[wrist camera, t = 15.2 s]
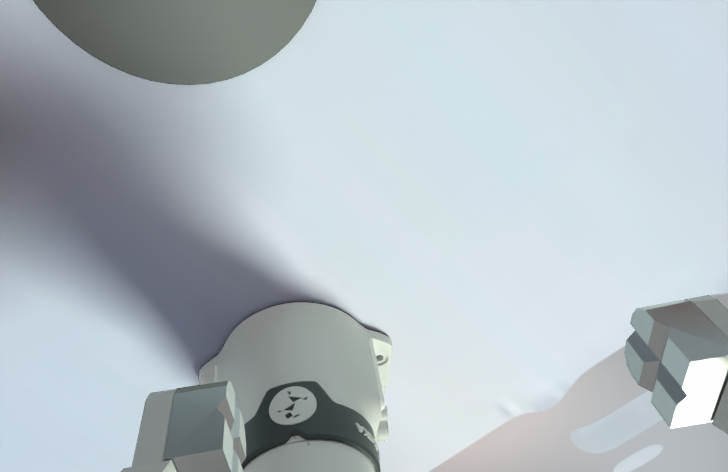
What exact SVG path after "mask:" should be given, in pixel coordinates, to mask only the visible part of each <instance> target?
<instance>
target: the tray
mask: <svg viewBox="0 0 728 472" xmlns="http://www.w3.org/2000/svg"><path fill="white" fill-rule="evenodd" d="M33 1H34V2H35V4H36V5H37V6H38V8H39V9H40V10H41V11H42V12H43V13H44V14H45V16H46V17H47V18H48V19H49V20H50V21H51V22H52V23H53V24H54V25H55V26H56V27H57V28H58V29H59V30H60V31H61V32H62V33H63V34H65V35H66V36H67V37H68V38H69V39H70V40H71V41H72V42H74V43H75V44H76V45H78V46H79V47H81V48H82V49H83V50H85V51H86V52H88V53H89V54H90V55H92V56H94V57H95V58H97V59H99V60H101V61H103V62H104V63H106V64H108V65H110V66H112V67H114V68H116V69H119V70H121V71H123V72H126V73H128V74H130V75H134V76H137V77H140V78H144V79H147V80H150V81H156V82H162V83H167V84H181V85H196V84H209V83H213V82H218V81H223V80H227V79H230V78H233V77H236V76H239V75H242V74H244V73H246V72H248V71H250V70H252V69H254V68H256V67H258V66H260V65H262V64H263V63H264V62H266V61H267V60H269V59H270V58H272V57H273V56H275V55H276V54H277V53H278V52H279V51H280V50H281V49H282V48H283V47H285V46H286V45H287V44H288V43H289V42H290V41H291V39H292V38H293V37H294V36H295V35H296V33H297V32H298V31H299V30H300V29H301V27H302V26H303V24H304V22H305V21H306V19H307V18H308V16H309V15H310V13H311V11H312V9H313V7H314V5H315V3H316V0H33Z"/></svg>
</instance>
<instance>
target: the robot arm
mask: <svg viewBox="0 0 728 472" xmlns="http://www.w3.org/2000/svg"><path fill="white" fill-rule="evenodd" d="M630 324H631V325H632V326H633V328H634V329H635V331H634V332H633V334H632V335H631V336H630V337H629V338H628V339H627V340H626V347H625V357H626V363H627V366H628V368H629V371H630V373H631V375H632V376H633V378H634V379H635V381H636V382H637V384H638V385H640V386H641V387H643V388H645V389H647V390H649V391H651V392H652V395H651V403H652V404H653V406H654V407H655V408H656V410H657V411H658V413H659V414H660V415H661V417H662V418H663V419H664V421H665V422H666V423H667V425H668V426H669V427H670V428H676V427H683V426H689V425H695V424H701V423H706V422H712V424H713V425H714V426H716V427H717V428H719V429H721V430H722V431H724V432H725V433H727V434H728V309H727V308H726V307H725V306H724V305H723V304H722V303H720V301H718V300H717V299H716V298H714V297H712V296H710V295H706V296H701V297H695V298H690V299H685V300H679V301H674V302H669V303H663V304H658V305H653V306H647V307H642V308H637V309H636V310H635V311H634V313H633V314H632V318H631V322H630ZM378 355H380V356H378ZM391 355H392V342H391V339H390V338H389V337H388V336H386V335H384V334H381V333H379V332H375V331H372V330H368V329H366V328H364V327H363V326H361V325H360V324H359V323H358V322H357V321H355V320H354V319H353V318H352V317H350V316H349V315H347V314H346V313H344V312H342V311H340V310H338V309H336V308H333V307H330V306H327V305H323V304H317V303H309V302H295V303H286V304H280V305H276V306H273V307H269V308H267V309H264V310H261V311H259V312H257V313H255V314H253V315H252V316H250V317H248V318H247V319H246V320H244V321H243V322H242V323H240V324H239V325H238V326H237V327H236V328H235V329H234V330H233V331H232V333H231V334H230V335H229V337H228V338H227V340H226V342H225V344H224V346H223V348H222V350H221V351H220V353H219V354H218V355H217V356H215V357H214V358H213V359H211V360H210V361H209V362H207V363H206V364H205V365H204V366H203V367H202V368H201V369H200V371H199V381H200V384H201V385H196V386H189V387H183V388H177V389H173V390H167V391H160V392H153V393H150V394H149V396H148V397H147V399H146V402H145V406H144V411H143V416H142V420H141V425H140V430H139V434H138V439H137V444H136V449H135V453H134V458H133V463H132V467H129V468H124V469H123V470H122V471H121V472H380V458H379V457H380V456H379V450H378V447H377V443H376V441H377V442H379V441H386V440H388V423H387V416H388V415H387V407H386V406H385V401H384V396H385V390H386V384H387V378H388V372H389V367H390V361H391Z"/></svg>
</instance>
